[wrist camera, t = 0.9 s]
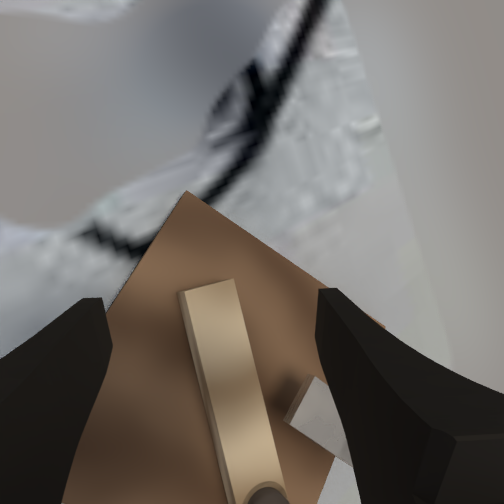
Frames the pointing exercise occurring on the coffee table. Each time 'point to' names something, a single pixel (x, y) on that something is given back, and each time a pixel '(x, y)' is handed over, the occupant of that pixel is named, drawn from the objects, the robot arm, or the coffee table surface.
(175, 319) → the board
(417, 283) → the coffee table surface
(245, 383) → the link
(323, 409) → the keeper
